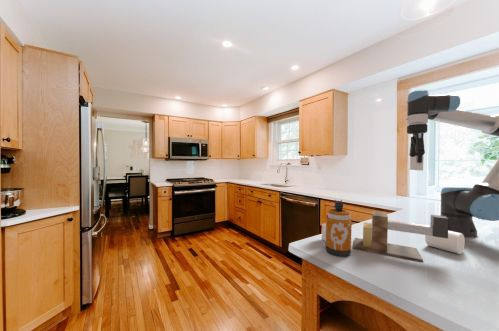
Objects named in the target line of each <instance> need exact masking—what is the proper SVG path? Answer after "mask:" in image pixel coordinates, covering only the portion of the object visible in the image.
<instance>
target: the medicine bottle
mask: <svg viewBox="0 0 499 331" xmlns="http://www.w3.org/2000/svg"><path fill="white" fill-rule="evenodd" d="M327 217H328V213H327V214H326V218H327ZM321 240H322V241H325V242H326V222H325V223H322V224H321Z"/></svg>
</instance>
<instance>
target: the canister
mask: <svg viewBox="0 0 499 331" xmlns="http://www.w3.org/2000/svg"><path fill="white" fill-rule="evenodd" d="M343 207H344V202H343V199H341V200H337V199H335V202H334V205H332V206H329V207H328V211H327V214H328V217H327V216H326V221H325V223H326V241H325V251H327V252H328V253H331V254H332V255H334V256H340V257H342V256H349V255H351V254H352V226H353V224H352V223H353V222H352V219H351V213H350V212H349V211H348V210H346V209H343Z"/></svg>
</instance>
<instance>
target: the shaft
mask: <svg viewBox="0 0 499 331" xmlns="http://www.w3.org/2000/svg"><path fill="white" fill-rule="evenodd" d="M389 230H390V231H395V232H403V233H411V234H416V235H424V236H425V235H430V236H434V237H441V238H448V218H447V217H445V216H440V215H437V214H430V225H429V224H420V223H415V222H414V223H413V222H405V221H397V220H389V219H388V231H389Z"/></svg>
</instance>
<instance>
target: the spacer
mask: <svg viewBox="0 0 499 331" xmlns="http://www.w3.org/2000/svg"><path fill="white" fill-rule="evenodd" d="M362 227H363V228H362V239H363V247H368V248H371V247H372V222H366V221H365V222H363V226H362Z"/></svg>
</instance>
